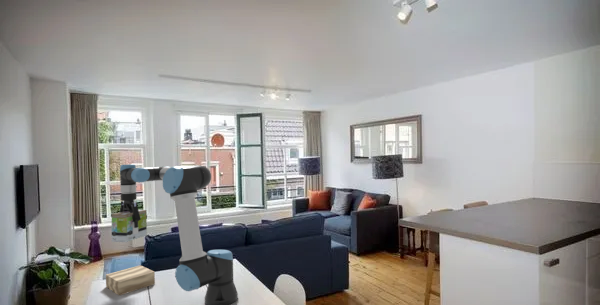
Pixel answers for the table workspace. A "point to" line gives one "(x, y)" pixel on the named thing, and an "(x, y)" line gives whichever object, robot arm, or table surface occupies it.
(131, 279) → the oak block
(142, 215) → the tea box
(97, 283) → the table surface
